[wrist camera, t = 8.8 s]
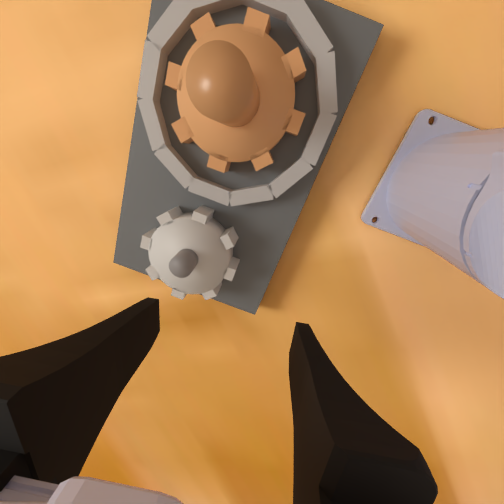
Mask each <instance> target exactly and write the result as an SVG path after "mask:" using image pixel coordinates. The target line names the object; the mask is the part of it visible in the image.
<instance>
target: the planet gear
mask: <svg viewBox="0 0 504 504" xmlns="http://www.w3.org/2000/svg"><path fill="white" fill-rule="evenodd" d="M190 26H191V29H192V31H193V33H194V35H195V37H196V40H197V41H196V42H195V43H194V44H193V45H192V47H191V48H190V50H189V51H188V53H187V54H186V56H185V58H184V60H183V63H182V66H180V65H178V64H175V63H172V62H170V61H169V63H168V69H167V75H166V80H165V85H166V86H168V87H170V88H172V89H174V90H176V91H177V103H178V109H179V113H180V116H181V118H180V119H179V120H177V121H175V122H174V123H172V124H171V125H172V127H173V129H174V131H175V133H176V135H177V137H178V138H179V140H180V142H181V143H187V144H189V143H191V142H193V141H194V142H195V143H196V144H197V145H198V146H199V147H200V148H201V149H202V150H203V151H205V152H206V153H208V154H209V159H208V163H207V167H209V168H212V169H215V170H217V171H220V172H223V173H225V172H228V171H229V168H230V164H231V162H244V161H249V160H251V161H252V163H253V165H254V168H255V170H256V171H258V170H260V169H262V168H264V167H266V166H268V165H270V164H272V163H273V162H274V160H273V158H272V156H271V153H270V150H271V149H273V148H274V147H275V146H276V145H277V144H278V142H279V141H280V140H281V138H282V137H283V136H284V134H285V132H286V133H289V134H292V135H294V136H297V135H298V133H299V130H300V127H301V125H302V122H303V119H304V117H305V114H306V113H303V112H300V111H298V110H295V109H294V103H295V83H296V82H297V81H299V80H301V79H303V78H304V77H305V74H306V68H305V65H304V62H303V59H302V56H301V53H300V50H299V48H298V47H297V48H295V49H293V50H292V51H290V52H289V53H287V54H284V52H283V50H282V49H281V48H280V46H279V45H278V44H277V43H276V41H274V40H273V39H272V38H271V37H270V36H269V32H270V29H271V25H270V15H268V14H266V13H263V12H261V11H258V10H256V9H253V8H250V7H248V8H247V12H246V16H245V20H244V24H238V23H235V24H226V25H221V26H218V27H216V24H215V23H214V21H213V19H212V17H211V15H210V13H209V12H208V13H206V14H205V15H204V16H202V17H201V18H199V19H198V20H197V21H195V22H194V23H192V24H191V25H190Z"/></svg>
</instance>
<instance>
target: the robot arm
mask: <svg viewBox="0 0 504 504" xmlns="http://www.w3.org/2000/svg"><path fill="white" fill-rule="evenodd" d="M430 117H433V118H434V122H433V124H432V125H430V124H429V123H428V121H429V118H430ZM373 217H377V220H376V222H372V218H373ZM361 220H362V221H363V222H364V223H365V224H368V225H371V226H373V227H376V228H378V229H381V230H383V231H386V232H389V233H391V234H394V235H396V236H399V237H402V238H404V239H407V240H409V241H412V242H415V243H417V244H420V245H422V246H425V247H427V248H429V249H430V250H432V251H433V252H435V253H436V254H438V255H439V256H441V257H442V258H444V259H445V260H446V261H448V262H449V263H451V264H452V265H454V266H455V267H457V268H458V269H460V270H461V271H463V272H464V273H466V274H467V275H469V276H470V277H472V278H473V279H475V280H476V281H478V282H479V283H480V284H482V285H484V286H485V287H486V288H488V289H489V290H491V291H492V292H494V293H495V294H497V295H498V296H500V297H501V298H503V299H504V128H496V129H486V130H480V129H478V128H475V127H473V126H470V125H468V124H465V123H463V122H460V121H458V120H455V119H453V118H450V117H448V116H445V115H443V114H440V113H438V112H435V111H433V110H431V109H424V110H421V111H420V112H418V113H417V115H416V116H415V118H414V120H413V122H412V123H411V125H410V127H409V129H408V131H407V132H406V134H405V136H404V138H403V140H402V142H401V143H400V145H399V147H398V149H397V151H396V153H395V154H394V156H393V158H392V160H391V162H390V163H389V165H388V167H387V169H386V171H385V173H384V174H383V176H382V178H381V180H380V182H379V184H378V185H377V187H376V189H375V191H374V193H373V194H372V196H371V198H370V200H369V202H368V204H367V205H366V207H365V209H364V211H363V213H362V215H361ZM159 331H160V321H159V299H154V298H146V299H144V300H142V301H140V302H138V303H136V304H134V305H132V306H131V307H129V308H127V309H125V310H123V311H121V312H120V313H118V314H116V315H114V316H112V317H110V318H108V319H106V320H104V321H102V322H100V323H98V324H96V325H94V326H92V327H89V328H87V329H85V330H83V331H80V332H78V333H75V334H73V335H70V336H68V337H65V338H62V339H59V340H56V341H53V342H51V343H48V344H45V345H42V346H39V347H35V348H32V349H28V350H25V351H21V352H17V353H14V354H10V355H6V356H2V357H0V504H183V503H182V502H181V501H179V500H178V499H177V498H175V497H173V496H170V495H167V494H164V493H162V492H158V491H153V490H148V489H143V488H139V487H134V486H129V485H124V484H119V483H115V482H110V481H105V480H100V479H96V478H91V477H78V476H79V474H80V471H81V469H82V467H83V465H84V463H85V461H86V459H87V457H88V455H89V453H90V451H91V449H92V447H93V445H94V443H95V441H96V439H97V437H98V435H99V433H100V431H101V429H102V427H103V425H104V423H105V421H106V419H107V417H108V416H109V414H110V412H111V410H112V408H113V406H114V405H115V403H116V401H117V399H118V397H119V396H120V394H121V392H122V391H123V389H124V388H125V386H126V385H127V383H128V382H129V380H130V379H131V377H132V376H133V374H134V373H135V371H136V370H137V368H138V367H139V365H140V364H141V363H142V361H143V360H144V358H145V357H146V355H147V354H148V352H149V351H150V349H151V347H152V345H153V344H154V342H155V340H156V338H157V336H158V333H159ZM289 380H290V390H291V401H292V411H293V425H294V485H293V504H433V503H434V501H435V498H436V496H437V494H438V488H437V484H436V482H435V480H434V478H433V476H432V474H431V471H430V469H429V467H428V465H427V463H426V461H425V459H424V457H423V455H422V454H421V452H420V450H419V448H417V447H416V446H415V445H414V444H412V443H411V442H410V441H409V440H407V439H406V438H405V437H403V436H402V435H401V434H400V433H398V432H397V431H396V430H395V429H393V428H392V427H391V426H390V425H389V424H388V423H387V422H385V421H384V420H383V419H382V418H381V417H380V416H379V415H378V414H377V413H376V412H374V411H373V410H372V409H371V408H370V407H369V406H368V405H367V404H366V403H365V402H364V401H363V400H362V399H361V398H360V397H359V396H358V394H357V393H356V392H355V391H354V390H353V389H352V388H351V387H350V385H349V384H348V383H347V382H346V381H345V380H344V378H343V377H342V376H341V375H340V373H339V372H338V371H337V369H336V368H335V366H334V365H333V364H332V362H331V361H330V359H329V358H328V356H327V355H326V353H325V351H324V350H323V348H322V347H321V345H320V343H319V342H318V340H317V338H316V336H315V335H314V333H313V331H312V329H311V327H310V326H309V324H305V323H299V322H296V326H295V330H294V335H293V339H292V343H291V348H290V352H289Z"/></svg>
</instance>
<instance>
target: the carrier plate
mask: <svg viewBox="0 0 504 504" xmlns="http://www.w3.org/2000/svg"><path fill="white" fill-rule="evenodd" d="M248 7H250V8H253V9H256V10H258V11H261V12H263V13H266V14H268V15H270V25H271V29H270V32H269V36H270V37H271V38H272V39H273V40H274V41H276V43H277V44H278V45H279V46H280V48H281V49H282V50H283V52H284V54H287V53H289V52H290V51H292V50H293V49H295V48H297V47H298V48H299V50H300V53H301V56H302V59H303V62H304V65H305V68H306V74H305V77H304V78H303V79H301V80H299V81H297V82H296V83H295V103H294V109H295V110H298V111H300V112H303V113H306V114H305V117H304V119H303V122H302V125H301V127H300V130H299V133H298V135H297V136H294V135H292V134H289V133H286V132H285V134H284V136H283V137H282V138H281V140H280V141H279V142H278V144H277V145H276V146H275V147H274V148H273V149H271V150H270V153H271V156H272V158H273V160H274V162H273V163H272V164H270V165H268V166H266V167H264V168H262V169H260V170H258V171H256V170H255V168H254V165H253V163H252V161H251V160H249V161H244V162H231V164H230V168H229V171H228V172H225V173H223V172H220V171H217V170H215V169H212V168H209V167H207V163H208V159H209V154H208V153H206V152H205V151H203V150H202V149H201V148H200V147H199V146H198V145H197V144H196V143H195V142H194V141H193V142H191V143H189V144H187V143H181V142H180V140H179V138H178V137H177V135H176V133H175V131H174V129H173V127H172V125H171V124H172V123H174V122H175V121H177V120H179V119H180V118H181V116H180V113H179V109H178V103H177V91H176V90H174V89H172V88H170V87H168V86H166V85H165V80H166V75H167V69H168V63H169V61H170V62H172V63H175V64H178V65H180V66H182V63H183V60H184V58H185V56H186V54H187V53H188V51H189V50H190V48H191V47H192V45H193V44H194V43H195V42H196V41H197V40H196V37H195V35H194V33H193V31H192V29H191V26H190V25H191V24H192V23H194V22H195V21H197V20H198V19H199V18H201V17H202V16H204V15H205V14H206V13H208V12H209V13H210V15H211V17H212V19H213V21H214V23H215V24H216V27H218V26H221V25H226V24H235V23H238V24H244V20H245V16H246V12H247V8H248ZM383 26H384V25H383V24H381V23H378V22H376V21H373V20H371V19H368V18H366V17H363V16H361V15H359V14H356V13H354V12H351V11H349V10H346V9H344V8H342V7H339V6H337V5H334V4H332V3H329V2H327V1H324V0H152V3H151V10H150V17H149V23H148V30H147V37H146V40H145V44H144V51H143V58H142V65H141V72H140V79H139V86H138V93H137V97H138V98H137V105H136V112H135V119H134V126H133V133H132V139H131V146H130V153H129V160H128V167H127V173H126V180H125V187H124V194H123V201H122V207H121V214H120V221H119V228H118V235H117V242H116V248H115V255H114V263H116V264H119V265H122V266H124V267H127V268H130V269H133V270H135V271H138V272H141V273H143V274H146V275H149V276H150V278H151V279H152V280H155V279H160V280H161V281H163V282H164V283H165V284H166V285H168V286H169V287H171V288H172V293H171V296H174V297H177V298H180V299H182V300H183V299H184V297H185V296H186V294H200V295H203V297H204V299H205V300H207V299H210V298H211V299H214V300H217V301H219V302H222V303H225V304H227V305H230V306H233V307H236V308H238V309H241V310H244V311H246V312H249V313H252V314H255V313H256V311H257V309H258V307H259V304H260V302H261V300H262V298H263V295H264V293H265V291H266V289H267V286H268V284H269V282H270V280H271V277H272V275H273V273H274V271H275V268H276V266H277V264H278V262H279V259H280V257H281V255H282V253H283V250H284V248H285V246H286V244H287V241H288V239H289V237H290V235H291V233H292V230H293V228H294V226H295V224H296V221H297V219H298V217H299V215H300V212H301V210H302V208H303V206H304V203H305V201H306V199H307V197H308V194H309V192H310V190H311V188H312V185H313V183H314V181H315V179H316V176H317V174H318V172H319V170H320V167H321V165H322V163H323V161H324V158H325V156H326V154H327V152H328V149H329V147H330V145H331V143H332V140H333V138H334V136H335V134H336V131H337V129H338V127H339V125H340V122H341V120H342V118H343V116H344V113H345V111H346V109H347V107H348V104H349V102H350V100H351V98H352V95H353V93H354V91H355V89H356V86H357V84H358V82H359V80H360V77H361V75H362V73H363V71H364V68H365V66H366V64H367V62H368V59H369V57H370V55H371V53H372V50H373V48H374V46H375V44H376V41H377V39H378V37H379V35H380V32H381V30H382V28H383Z"/></svg>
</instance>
